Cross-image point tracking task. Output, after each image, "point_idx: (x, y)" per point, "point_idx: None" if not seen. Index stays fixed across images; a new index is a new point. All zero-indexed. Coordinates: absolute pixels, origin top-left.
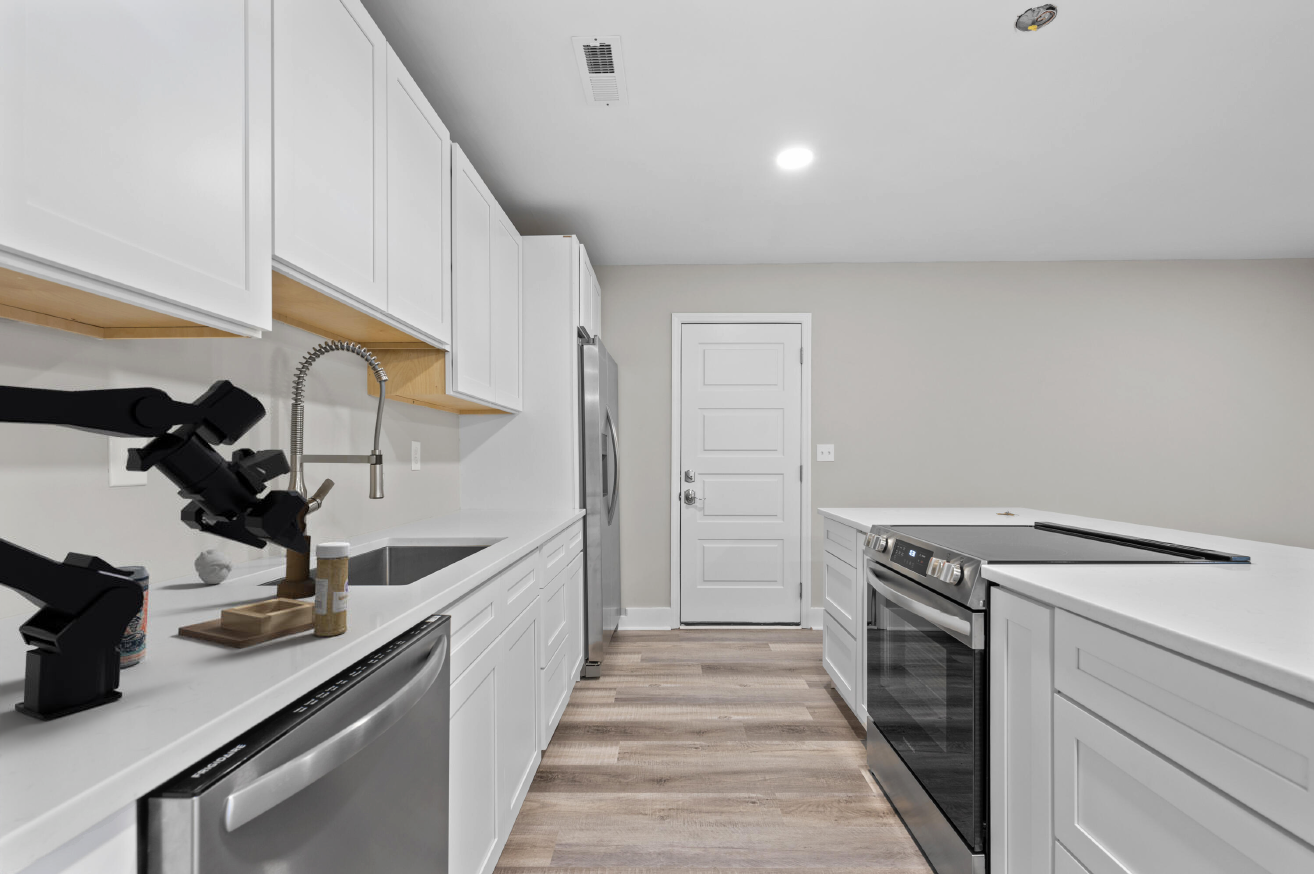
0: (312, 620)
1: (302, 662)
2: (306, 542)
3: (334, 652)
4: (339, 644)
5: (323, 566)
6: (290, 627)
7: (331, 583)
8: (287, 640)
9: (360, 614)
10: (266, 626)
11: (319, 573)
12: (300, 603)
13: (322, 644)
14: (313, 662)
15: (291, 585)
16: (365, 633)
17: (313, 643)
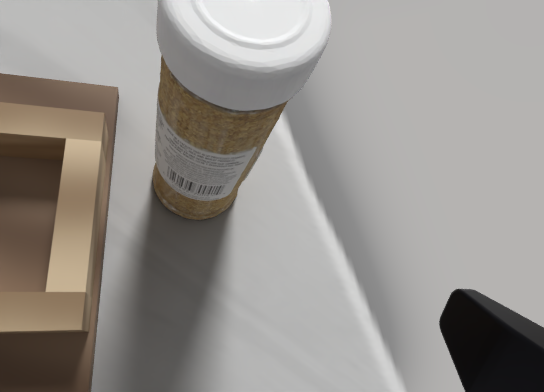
0: (105, 159)
1: (356, 387)
2: (520, 317)
3: (350, 295)
4: (305, 244)
5: (251, 127)
6: (99, 232)
7: (262, 145)
8: (148, 280)
9: (111, 18)
10: (88, 312)
11: (222, 142)
12: (28, 132)
13: (268, 262)
14: (377, 372)
15: None
16: (280, 151)
17: (240, 267)
